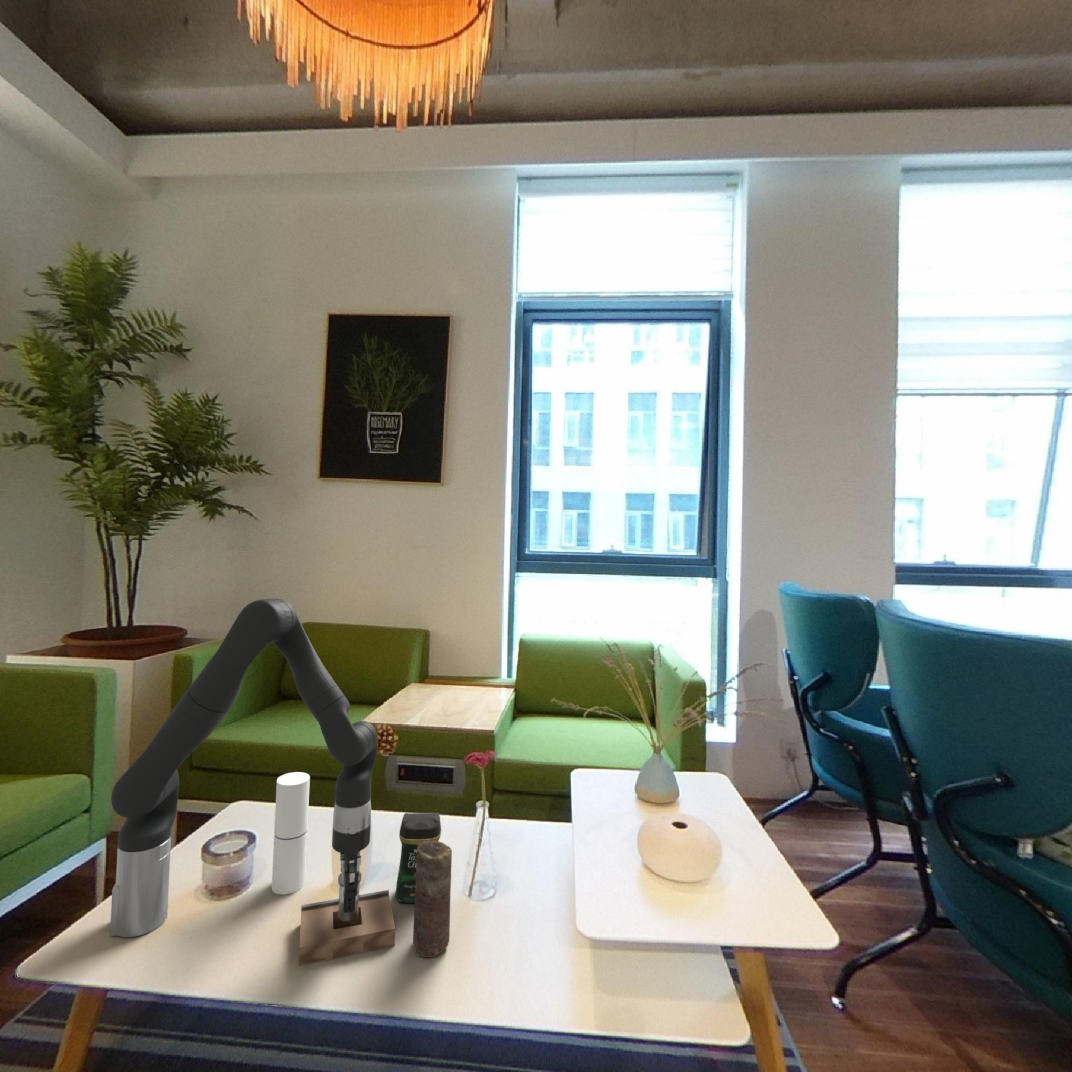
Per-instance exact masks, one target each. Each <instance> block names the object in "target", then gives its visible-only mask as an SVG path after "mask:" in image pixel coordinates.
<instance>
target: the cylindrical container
mask: <svg viewBox="0 0 1072 1072" xmlns="http://www.w3.org/2000/svg"><path fill="white" fill-rule="evenodd" d="M310 781H311V776H310V774H308V773H306V772H300V771H294V772H287V773H284V774H283V775H282V774H281V775H280V776H278V777H277V779H276V788H275V789H276V790H275V810H274V827H273V828H274V832H273V851H272V853H273V854H272V855H273V856H272V876H271V891H272V892H273V893H274V894H277V895H284V896H285V895H289V894H295V893H296V892H298V891H300V890H301V889H303V887H304V886H305V883H306V865H307V864H306V863H307V861H306V860H307V847H308V827H309V825H308V823H309V800H310V783H311V782H310Z"/></svg>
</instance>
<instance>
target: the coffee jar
mask: <svg viewBox="0 0 1072 1072" xmlns="http://www.w3.org/2000/svg"><path fill="white" fill-rule="evenodd" d="M399 828H400V829H399V840H400V844H401V848H400V849H401V850H400V860H399V864H398V865H399V866H398V872H397V879H396V885H395V886H396V887H395V896H396V897H395V898H396V899H397V900H398V901H399V902H400V903H403V904H404V903H405V904H406V903H407V904H415V888H416V859H417V848H418V846H419V845H420V844H422V843H427V842H434V841H439V840H440V839H441V836H442V824H441V815H440V813H439V812H410V813H409V812H405V813H404V814H403V816H402V820H401V824H400V827H399ZM439 842H440V841H439Z"/></svg>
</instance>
